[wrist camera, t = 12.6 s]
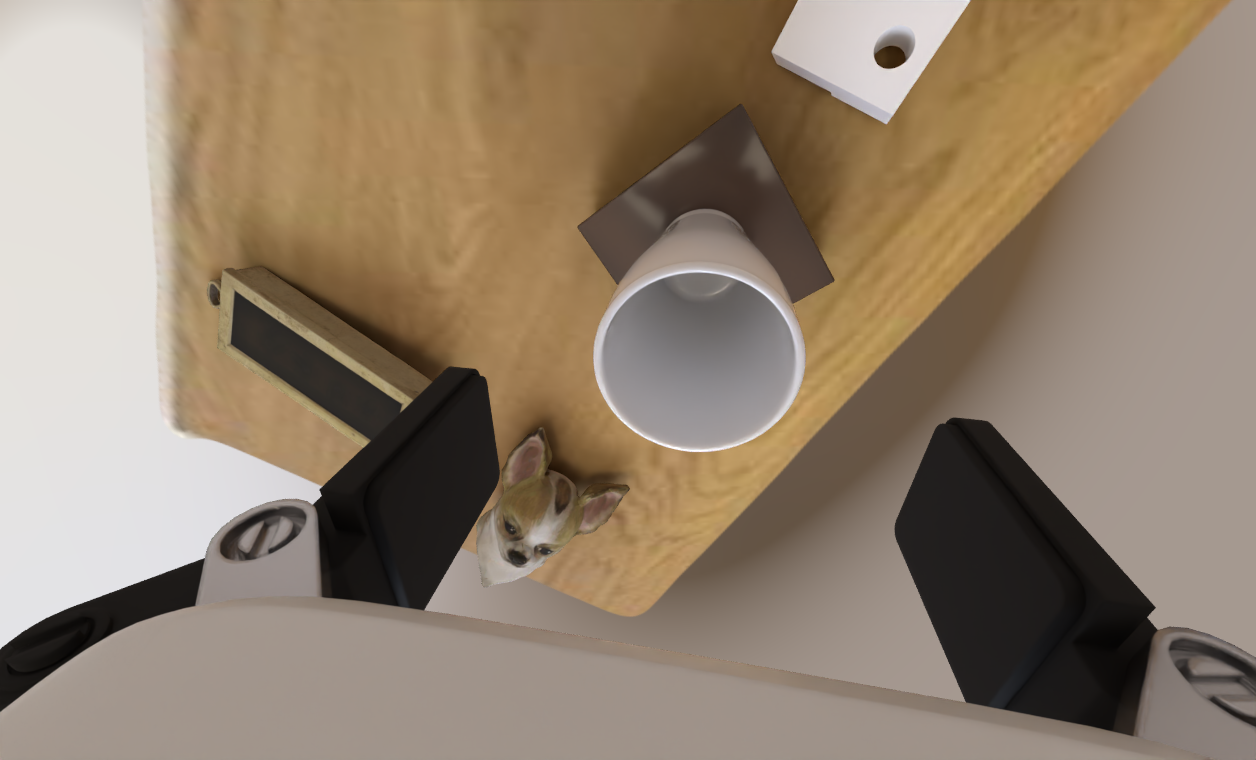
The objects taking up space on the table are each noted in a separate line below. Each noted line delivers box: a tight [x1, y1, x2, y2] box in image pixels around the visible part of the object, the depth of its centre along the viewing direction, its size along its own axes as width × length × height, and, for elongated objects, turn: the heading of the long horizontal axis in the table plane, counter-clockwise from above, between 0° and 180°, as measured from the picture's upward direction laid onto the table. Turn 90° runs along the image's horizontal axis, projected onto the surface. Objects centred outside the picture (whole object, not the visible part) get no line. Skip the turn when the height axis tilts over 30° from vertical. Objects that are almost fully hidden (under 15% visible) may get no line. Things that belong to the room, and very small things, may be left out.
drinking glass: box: [593, 209, 806, 452], centre depth 21 cm, size 7×7×15 cm
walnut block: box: [578, 104, 834, 303], centre depth 30 cm, size 11×11×5 cm
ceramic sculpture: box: [476, 427, 630, 587], centre depth 42 cm, size 11×9×15 cm
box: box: [207, 266, 432, 448], centre depth 39 cm, size 8×22×5 cm, turn 64°
